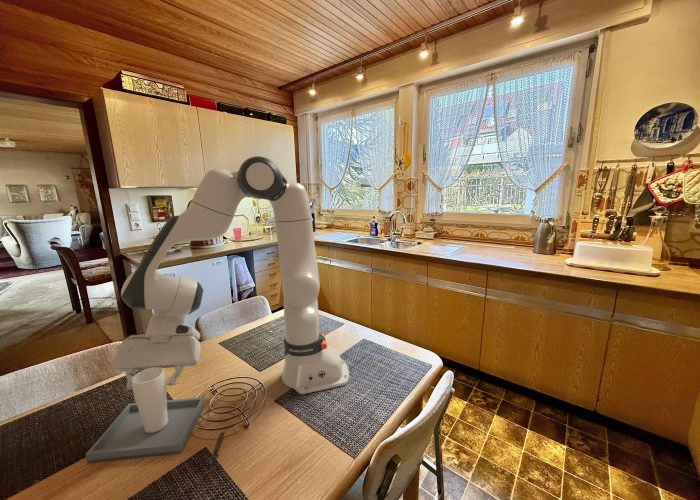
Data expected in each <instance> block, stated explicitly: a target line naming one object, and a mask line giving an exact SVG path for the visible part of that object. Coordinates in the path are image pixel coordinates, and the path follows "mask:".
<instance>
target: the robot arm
mask: <svg viewBox="0 0 700 500" xmlns="http://www.w3.org/2000/svg"><path fill="white" fill-rule="evenodd" d="M193 194H194V195H193V197H192V200H191V202H190V204H189V206H188V207H187V208H186V209H185V210H184V211H183V212H182V213H181V214H179V215H172V216H171V217H169V218H168V220H167V221H166V222H165V224H163V226H162V228H161V229H160V230H159V232H158V233H157V235H156V236H155V238H154V240H153V241H152V242H151V244H150V245H149V247H148V249H147V250H146V252H145V253H144V255H143V257H142V259H141V260H140V262H139V263H138V264H137V266H136V267H135V269H134V270H133V271H132V272H131V273H130V274H129V276H128V277H127V278H126V279H125V281H124V283H123V285H122V288H121V291H120V299H121V300H122V302H124V304H125V305H127V307H129V308H130V309H136V310H137V309H138V310H139V309H140V310H146V309H147V310H153V314H152V316H150V317H151V318H150V319H149V321H148V325H147V329H146V331H145V334H132V335H129V336H128V337H125V338H124V339H123V340H122V341H121V344H120V347H119V350H118V351H117V353H116V355H115V357H114V360H113V362H112V368H113V369H114V370H116V371H118V372H125V373H124V374H125V377H126V380H127V383H126V389H128V390H131V389H132V390H133V387H132V378H133V377H134V376H135V375H136V374H137V371H143V370H145V369H148V368H152V367H160V368H163V369H169V368H170V369H171V368H172V369H173V368H174V373H173V374H172V376H168V378H167V380H166V386H175V385H176V382H177V379H178V378H179V376H180V375H181V374H182V373H183V372H184V367H194V366H197V365H198V363H199V362H200V357H201V348H202V347H201V342H200V341H199V340H200V338H201V333H200V332H199V331H198V330H197V329H196V328H195V327H193V326H191V325H186V315H188V316H189V315H191V314H192V313H194V312H196V311H197V310H199V309H200V307H201V304H202V300H203V293H204V288H203V287H202V285H201V283H200V282H199V281H196V280H193V279H190V278H185V277H183V276H182V277H181V276H175V275H171V274H166V273H165V274H164V273H160V272H158V271H157V270H158V267H159V266H160V264H161V263H162V261H163V260H164V258H165V257H166V255H167V254H168V252H169V250H170V249H171V248H172V247H173V246H175V245H177V244H180V243H183V242H191V241H196V242H197V241H210V240H213V239H214V240H215V239H217V238H219V237H221V236H223V235H225V234H226V233H227V231H228V229H229V228H230V226H231V223H232V222H233V219H234V216H235V214H236V211H237V210H238V209H237V208H238V207H239V204H240V203H241V202H242V200H243V199H245V198H253V199H256V200H266V201H267V200H268V201H269V203H270V205H271V206H272V211H273V216H274V225H275V232H276V240H277V241H276V243H277V248H278V249H277V250H278V260H279V261H278V262H279V269H280V270H279V271H280V272H279V273H280V279H281V281H280V282H281V287H282V288H281V289H282V292H283V317H284V318H283V320H284V323H283V324H284V337H283V354H284V365H283V371H282V375H281V381H282V383H283V384H284V386H287V387H289V388H291V389H294V390H295V391H296V392H297V393H298V394H299V395H300V394H301V395H305V394H310V393H313V392H320V391H323V390H327V389H332V388H337V387H341V386H345V385H347V384H348V381H349V378H350V371H349V367H348V364H347V362H345V360H343V359H342V357H341V354H340V353H339V351H338V350H337V349H336V348H334V347H332V346H330V345H329V344H328V343H327V341H326V336H325V335H324V333H323V332H322V334H321V333H320V316H319V305H318V304H319V303H318V302H319V300H318V296H319V293H320V290H321V289H320V287H321V283H320V275H319V267H318V260H317V259H318V258H317V254H316V253H317V252H316V246H315V245H316V244H315V236H314V228H313V227H314V225H313V218H312V209H311V204H310V200H309V196H308V192H307V190H306V188H305V186H304V185H303V184H302V183H299V182H297V181H288V180H287V179H286V177H285V176H284V175H283V173H282V172H281V170H280V169H279V167H278V166H277V164H276V163H275V162H274V161H272V160H271V159H270V158H268V157H264V156H260V155H258V156H255V155H254V156H251V157H249V158H246V159H245V160H244V161H243V162H242V163H241V165H240V166H239V168H238V170H237V171H230V170H227V169H224V168H212V169H210V170H208V171H207V173H205V175H204V176H203V178H202V180H201V181H200V183H199V185H198V186H197V188H196V190H195V193H193Z"/></svg>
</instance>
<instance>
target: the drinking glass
mask: <svg viewBox="0 0 700 500" xmlns="http://www.w3.org/2000/svg"><path fill="white" fill-rule="evenodd" d="M132 387H133V389H132V391H133V396H134V401H135V403H136V404H137V407H138V410H139V413H140V416H141V420H142V423H143V428H144V431H145V432H147V433H154V432H157V431H159V430H161V429H162V428H164V427H165V426H166V424H167V423H168V414H167V400H168V399H167V398H168V397H167V396H168V394H167V380H166V375H165V371H164V368H160V367H152V368H148V369H145V370H139V372H136V374H135V375H133V378H132Z"/></svg>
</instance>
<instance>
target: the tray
mask: <svg viewBox="0 0 700 500" xmlns="http://www.w3.org/2000/svg"><path fill="white" fill-rule="evenodd" d="M205 406H206V398H205V396H202V397H193V398H192V397H191V398H189V397H188V398H179V399H178V398H177V399H167V414H168V423H167V424H166V426H165V427H164V428H162V429H161V430H159V431H157V432H154V433H147V432H145V431H144V428H143V423H142V420H141V416H140V413H139V410H138V407H137V404H136V402H133V403H128V405H127V406H126V407H125V408H124V409H123V410H122V412H120V414H118V416H117V417H116V418H115V420H114V421H113V422H112V423H111V424H110V425H109V427H107V429H106V430H105V431H104V432H103V433H102V434H101V435H100V437H99V438H97V440H96V441H95V443H94V444H93V445H92V446H91V447H90V449H89V450H88V451H87V452H86V453H85V454H84V456H85V459H86V464H87V465H88V464H89V465H90V464H96V463H98V464H99V463H107V462H115V461H116V462H117V461H124V460H125V461H126V460H133V459H134V460H135V459H143V458H144V459H145V458H150V457H159V456H160V457H161V456H169V455H170V456H171V455H178V454H182V453H183V450H184V449H185V446H186V445H187V442H188V441H189V438H190V437H191V435H192V433H193V430H194V428H195V427H196V425H197V423H198V421H199V418H200V416H201V414H202V413H203V410H204V408H205Z"/></svg>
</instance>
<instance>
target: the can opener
mask: <svg viewBox="0 0 700 500" xmlns="http://www.w3.org/2000/svg"><path fill="white" fill-rule="evenodd" d="M224 438H225V432H224V431H222V432H220V434H219V436H218V438H217V441H216V444H215V447H214V448H213V449H214V450H213V453H212V454H211V455H210V456H209V457H210V462H209V465H210V466H212V465H213V462H214V461H215V458H216V459H218V458H219V456H220V455H219V450H220V447H221V445H222V443H223V440H224Z"/></svg>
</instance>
